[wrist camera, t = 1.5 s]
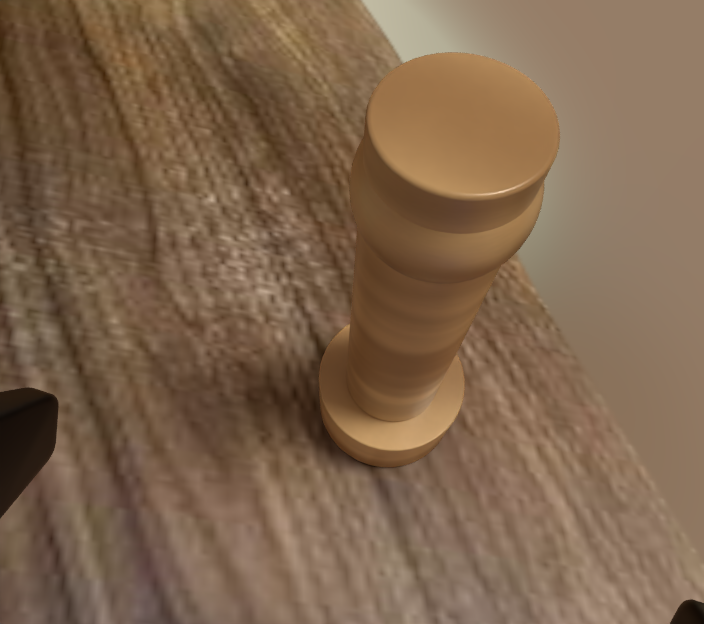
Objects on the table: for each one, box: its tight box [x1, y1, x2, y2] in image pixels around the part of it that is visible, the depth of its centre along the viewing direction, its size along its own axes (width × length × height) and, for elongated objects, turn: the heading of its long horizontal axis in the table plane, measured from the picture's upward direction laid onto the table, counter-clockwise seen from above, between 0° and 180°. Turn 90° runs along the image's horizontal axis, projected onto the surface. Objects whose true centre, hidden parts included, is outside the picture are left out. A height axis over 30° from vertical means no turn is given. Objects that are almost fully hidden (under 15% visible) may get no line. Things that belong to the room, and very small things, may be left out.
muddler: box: [319, 52, 560, 467], centre depth 15 cm, size 5×5×14 cm
